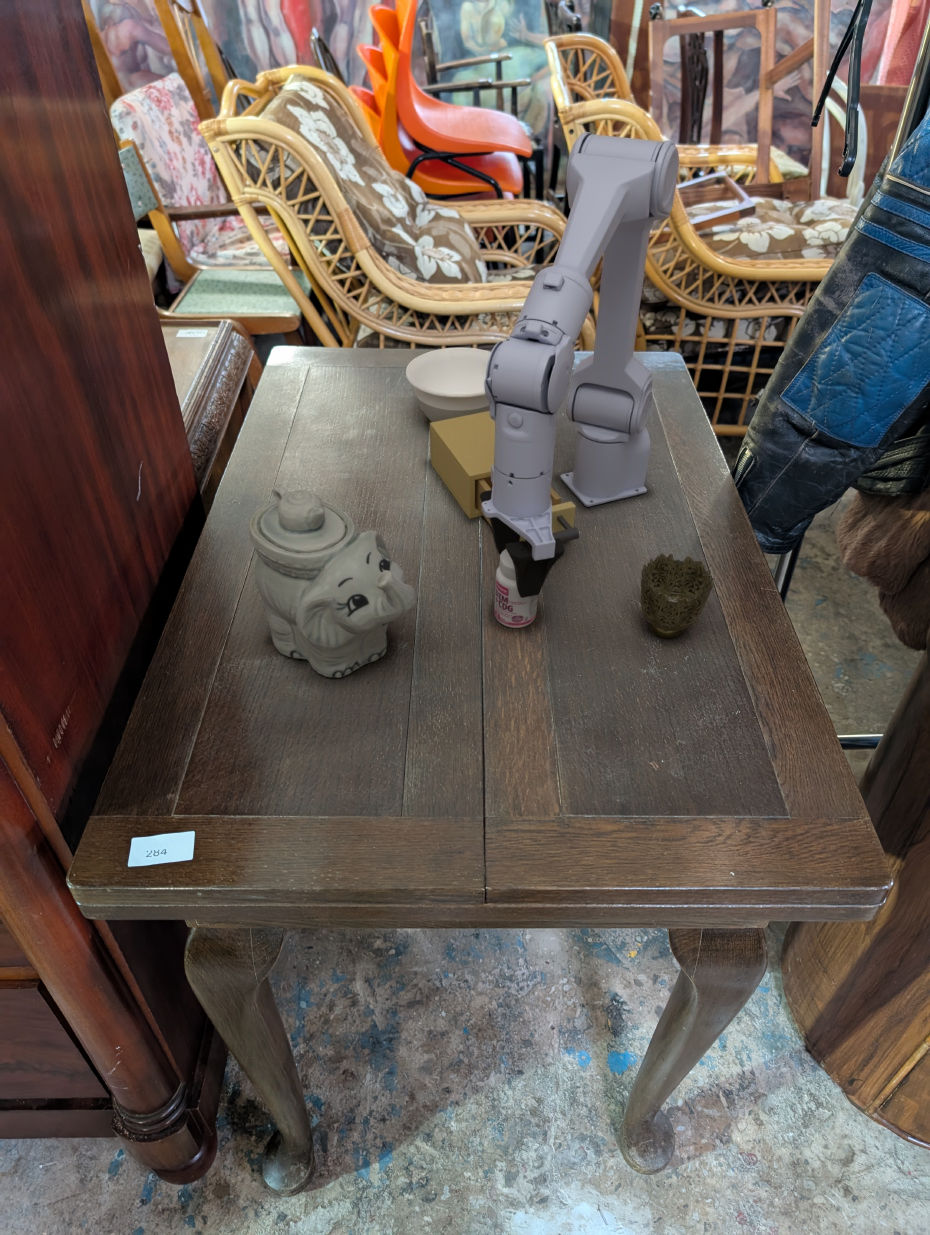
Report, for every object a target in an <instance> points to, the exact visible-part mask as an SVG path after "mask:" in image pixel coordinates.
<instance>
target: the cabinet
mask: <svg viewBox="0 0 930 1235" xmlns="http://www.w3.org/2000/svg"><path fill="white" fill-rule="evenodd" d="M489 415H490V411H486V412H481V413H476V414H471V415H466V416H461V417H456V418H451V419H446V420H441V421H436V422H431V421H430V422H429V437H430V438H429V439H430V440H429V441H430V442H429V443H430V464H431V466H432V467H433V469H434V470H435V472H436V473H437V475H438V476H439V477H440V479H441V480H442V482H443V483H444V485H445V486H446V488H447V489H448V491H449V492H450V494H452V496H453V497H454V499H455V500H456V502H457V503H458V505H459V506H460V508H461V509H462V511H463V512H464V513H465V515H466V517H467V518H468V519H469V520H472V519H476V518H480V517H484V516H483V514H482V513H481V512H480V510H479V509H478V507H477V506H476V505H475V480H477V479H482V478H486V477H491V466H492V465H494V445H495V421H494V420H493V419H491V416H489Z"/></svg>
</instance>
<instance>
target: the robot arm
mask: <svg viewBox="0 0 930 1235" xmlns="http://www.w3.org/2000/svg"><path fill="white" fill-rule="evenodd" d="M679 166H680V154H679V150H678V147H677V146H676V143H675V141H674V140H671V139H670V140H665V141H663V140H651V139H642V138H632V137H623V136H613V135H605V134H604V135H603V134H594V133H592V132H590V131H589V132H588V131H584V132H582V133H581V134H580V135H579V136H578V138H577V139H575V141H574V143H573V144H572V147H571V149H570V153H569V156H568V160H567V164H566V173H565V174H566V175H565V186H566V192H567V200H568V201H567V202H568V208H569V209H570V212H569V215H568V218H567V221H566V224H565V227H564V230H563V234H562V237H561V240H560V243H559V246H558V248H557V253H556V255H555V259H554V261H553V264H552V265H551V266H547V267H544V268H543V269H541V270H539V271H538V272H537V274H536V275H535V276H534V279H533V281H532V284H531V287H530V288H529V290H528V293H527V296H526V298H525V300H524V302H523V305H522V307H521V309H520V312H519V314H518V316H517V318H516V321H515V323H514V325H513V328H512V331H511V333H510V335H509V336H508V337H506V338H505V340H499V341H497V343H495V345H494V346H493V348H492V349H491V351H490V352H491V354H490V357H489V360H488V364H487V369H486V377H485V380H484V388H485V394H486V397H487V399H488V401H489V405H490V415H489V416H491V419H493V420H494V421H495V445H494V465H492V466H491V482H492V484H493V486H492V490H488V491H484V492H482V493H481V494H480V499H481V501H482V511H483V513H484V515H485V516H486V517H488V518H489V519H490V522H491V525H490V527H491V526H492V527H491V531H492V535H493V541H494V545H495V549H496V551H497V553H498V555H501V553H502V552H503V551H504V550H505V549H506V550H507V551H508V553H509V555H510V557H511V559H512V561H513V564H514V568H515V575H516V584H517V590H518V593H519V595H520V597H521V598H524V597H530V596H535V595H538V596H539V595H540V593H541V590H542V588H543V586H544V583H545V582H546V579H547V577H548V575H549V572H550V571H551V569H552V568H553V566H554V565H555V564H556V563H557V562H558V561H559V560H560V559H561V558H562V557H563V556H564V554H565V545H564V542H563V543H562V542H561V540H560V538H557V539H554V538H553V535H552V501H551V498H550V494H551V487H552V482H553V480H552V479H553V470H554V469H553V468H554V457H555V444H556V432H557V421H558V411H559V409H560V408H561V406H562V405H563V402H564V400H565V397H566V394H567V397H566V403H565V414H566V416H567V419H568V420H569V422H570V423H573V431H575V432H576V442H575V450H574V451H575V452H574V462H573V471H570V472H566V473H562V474H560V476H559V478H560V480H561V481H562V482H563V483H564V484H565V485H566V487H567V488H568V489H569V491H571V492H572V493H573V494H574V496H576V498H577V499H578V500H579V501H580V502H581V503H582V505H584V506H585V507H587V508H590V507H594V506H599V505H601V504H606V503H610V502H614V501H617V500H622V499H626V498H630V497H631V498H632V497H634V496H639V495H643V494H646V493H647V492H648V488H647V487H646V486H645V484H646V478H647V474H648V472H647V471H648V467H649V466H648V465H649V460H650V455H651V446H652V445H651V438H650V437H651V436H650V434H649V431H648V429H647V427H646V424H647V422H648V419H649V416H650V412H651V408H652V404H653V381H654V380H653V373H652V371H651V370H650V369H649V368H648V367H647V366H645V365H644V363H642V362H641V361H640V360H639V359H637V358H636V356H634V352H635V344H636V335H637V329H638V321H639V315H640V307H641V299H642V291H643V286H644V277H645V271H646V263H647V262H646V261H647V257H648V256H647V255H648V248H649V241H650V234H651V231H652V227H653V225H654V223H655V222H656V221H663V220H667V219H669V217H670V214H671V212H672V209H673V205H674V200H675V195H676V187H677V182H678V175H679V174H678V173H679V168H680V167H679ZM601 259H602V264H601V265H602V266H601V276H600V287H599V294H598V295H599V296H598V306H597V315H596V316H597V317H596V324H595V325H596V326H595V337H594V346H593V354H591V355H589V356H587V357H585V358H583V359H582V360H580V362H579V363H577V365H576V367H575V368H574V370H572V369H573V366H574V364H575V359H576V356H575V349H574V348H575V346H576V344H577V342H578V339H579V336H580V335H581V332H582V330H583V326H584V324H585V322H586V319H587V316H588V314H589V312H590V309H591V306H592V304H593V302H594V290H593V288H592V285H591V283H590V280H591V278H592V275H593V274H594V272H595V270H596V268H597V266H598V265H599V262H600V261H601ZM572 371H573V372H572ZM569 384H570V386H569ZM520 536H522V537H523V538H524V539H525V541H520Z"/></svg>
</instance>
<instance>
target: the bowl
mask: <svg viewBox="0 0 930 1235" xmlns="http://www.w3.org/2000/svg"><path fill="white" fill-rule="evenodd" d="M490 354H491V351H490V350H486V349H485V350H484V349H481V348H474V347H458V346H456V347H446V348H438V349H434V350H431V351H428V352H425V353H422V354H420V355H418V356H416V357H414V358H413V359H412V360H411V361H410V362H409V363H408V365H407V366H406V369H405V377H406V380H407V381H408V383H410V385H412V386H413V393H414V396H415V399H416V402H417V404H418V406H419V407H420V409H421V410H422V412H423V414H424V415H425V416H426V417H427V418H428V419H429V421H430V423H431V422H436V421H441V420H446V419H451V418H456V417H461V416H466V415H471V414H476V413H481V412H486V411H490V405H489V401H488V399H487V397H486V394H485V388H484V380H485V377H486V369H487V364H488V360H489V357H490Z"/></svg>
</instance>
